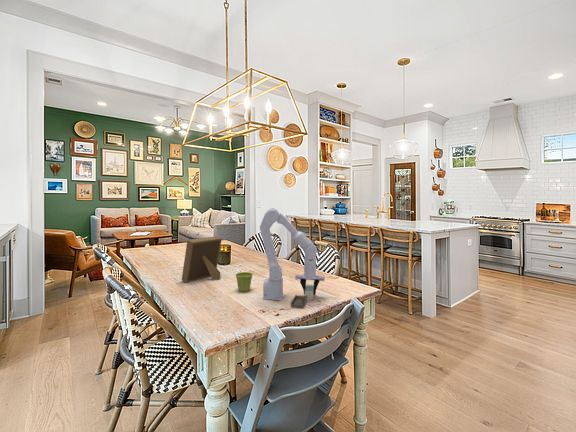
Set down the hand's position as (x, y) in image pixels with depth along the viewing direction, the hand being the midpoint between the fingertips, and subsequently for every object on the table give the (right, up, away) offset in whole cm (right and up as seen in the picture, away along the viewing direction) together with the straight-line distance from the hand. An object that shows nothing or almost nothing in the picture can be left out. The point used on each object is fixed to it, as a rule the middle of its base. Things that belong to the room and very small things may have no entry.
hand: (309, 294), depth 149 cm
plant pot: (-34, -1, +10) cm, 36 cm away
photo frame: (-61, +1, +30) cm, 68 cm away
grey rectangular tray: (-6, -2, -9) cm, 11 cm away
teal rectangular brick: (0, -1, 0) cm, 2 cm away
